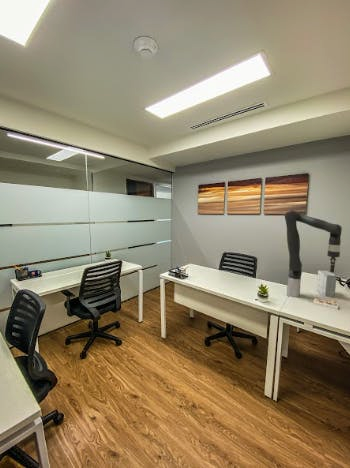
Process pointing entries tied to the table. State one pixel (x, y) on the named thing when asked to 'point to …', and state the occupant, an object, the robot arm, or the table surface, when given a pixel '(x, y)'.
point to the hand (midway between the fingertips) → (332, 270)
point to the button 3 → (333, 302)
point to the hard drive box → (326, 284)
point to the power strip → (325, 304)
